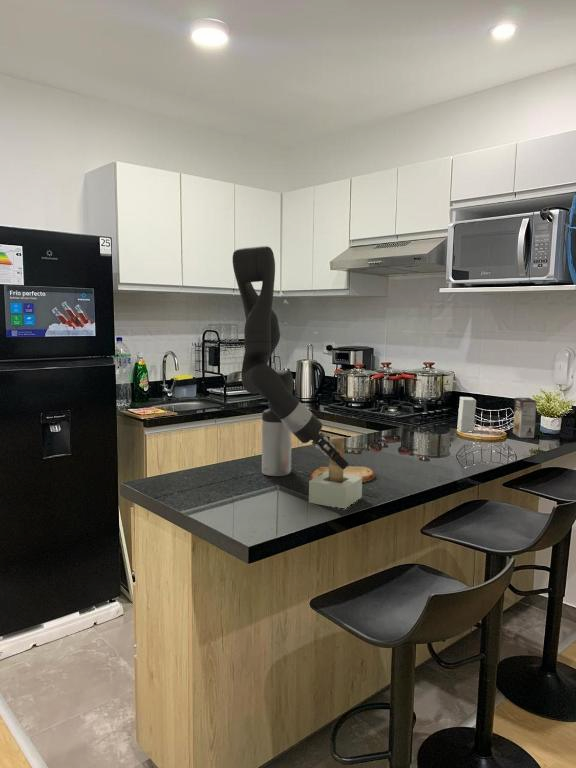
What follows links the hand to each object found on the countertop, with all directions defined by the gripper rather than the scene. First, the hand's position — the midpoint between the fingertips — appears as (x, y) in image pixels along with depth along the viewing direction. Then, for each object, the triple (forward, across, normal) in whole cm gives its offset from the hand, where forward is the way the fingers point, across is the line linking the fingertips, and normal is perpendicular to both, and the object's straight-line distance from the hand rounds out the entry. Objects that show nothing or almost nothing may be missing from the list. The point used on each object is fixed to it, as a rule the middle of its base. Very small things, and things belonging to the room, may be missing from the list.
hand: (343, 464), depth 158 cm
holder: (+6, 0, +8) cm, 10 cm away
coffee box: (+79, +74, -65) cm, 127 cm away
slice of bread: (+12, +21, +3) cm, 24 cm away
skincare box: (+65, +86, -51) cm, 120 cm away
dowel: (+3, 0, +6) cm, 7 cm away
